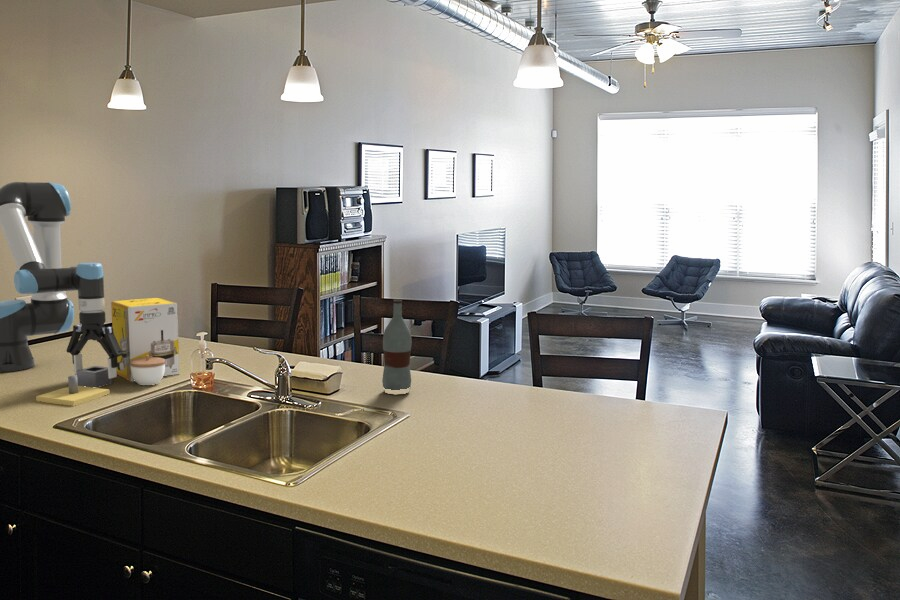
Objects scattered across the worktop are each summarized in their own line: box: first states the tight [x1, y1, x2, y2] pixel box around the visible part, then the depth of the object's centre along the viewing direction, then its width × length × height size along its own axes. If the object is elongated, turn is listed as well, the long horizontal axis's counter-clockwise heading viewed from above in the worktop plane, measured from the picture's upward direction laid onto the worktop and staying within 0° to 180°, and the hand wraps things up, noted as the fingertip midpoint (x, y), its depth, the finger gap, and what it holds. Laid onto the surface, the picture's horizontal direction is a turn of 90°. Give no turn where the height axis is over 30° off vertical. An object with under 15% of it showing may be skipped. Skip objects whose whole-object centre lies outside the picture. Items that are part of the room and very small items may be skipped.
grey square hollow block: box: [76, 365, 114, 388], centre depth 240 cm, size 8×8×5 cm
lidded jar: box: [130, 355, 165, 386], centre depth 242 cm, size 11×11×9 cm
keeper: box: [35, 375, 111, 407], centre depth 224 cm, size 14×14×6 cm
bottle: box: [381, 299, 412, 390], centre depth 236 cm, size 9×9×30 cm
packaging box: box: [110, 297, 180, 382], centre depth 254 cm, size 16×16×25 cm
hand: (95, 376), depth 239 cm, fingers open, 13 cm apart
